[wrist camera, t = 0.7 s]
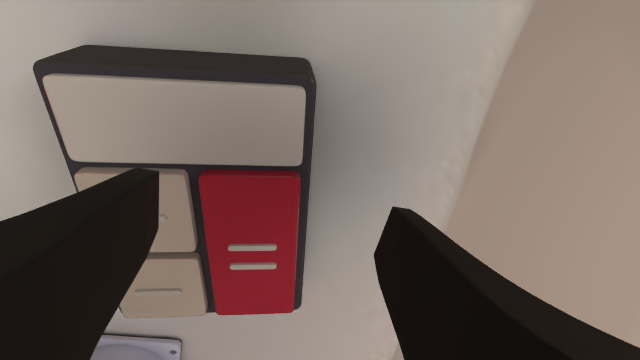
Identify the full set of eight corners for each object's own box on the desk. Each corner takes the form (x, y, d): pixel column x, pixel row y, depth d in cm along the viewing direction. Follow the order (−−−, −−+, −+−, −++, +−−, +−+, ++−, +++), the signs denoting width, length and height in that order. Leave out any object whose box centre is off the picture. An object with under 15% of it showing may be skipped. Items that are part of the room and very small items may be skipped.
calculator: (115, 327, 19) (11, 63, 12) (141, 272, 23) (76, 43, 15) (301, 321, 21) (319, 79, 13) (299, 269, 24) (311, 57, 17)
